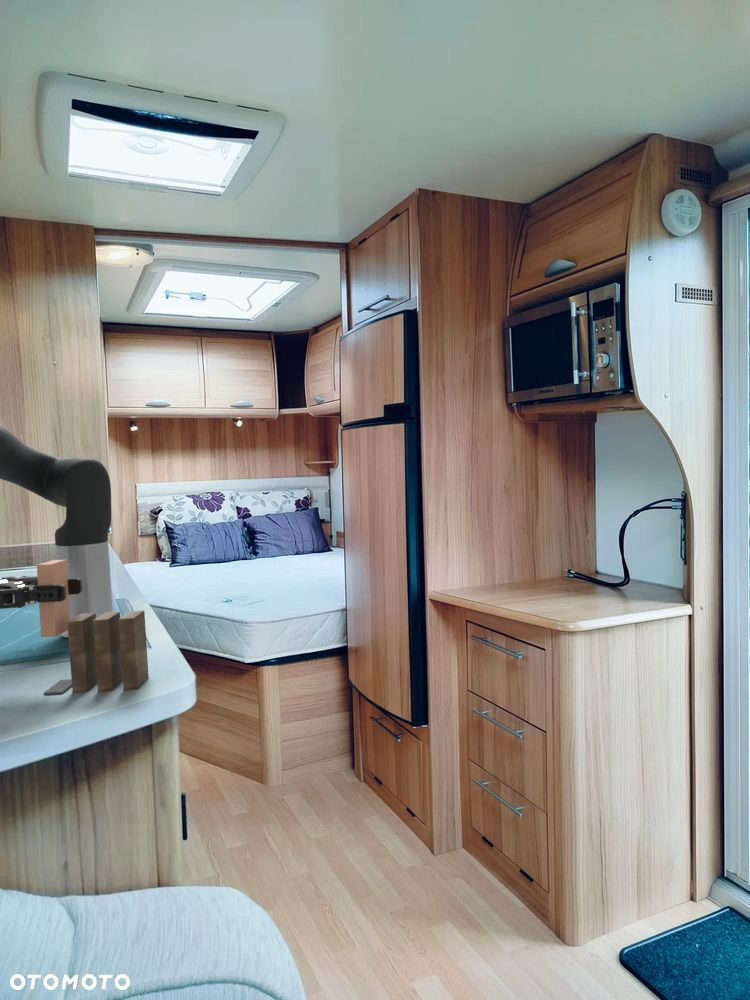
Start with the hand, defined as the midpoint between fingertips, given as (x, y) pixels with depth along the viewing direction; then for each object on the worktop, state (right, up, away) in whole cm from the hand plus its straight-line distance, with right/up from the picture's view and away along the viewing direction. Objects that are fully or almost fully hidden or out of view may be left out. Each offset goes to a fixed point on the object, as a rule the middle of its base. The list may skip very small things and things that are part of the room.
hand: (72, 589), depth 96 cm
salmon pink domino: (-2, -6, 0) cm, 7 cm away
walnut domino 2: (+5, -14, +1) cm, 15 cm away
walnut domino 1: (+2, -14, +1) cm, 14 cm away
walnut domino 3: (+9, -14, +1) cm, 16 cm away
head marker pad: (-2, -14, +1) cm, 14 cm away
